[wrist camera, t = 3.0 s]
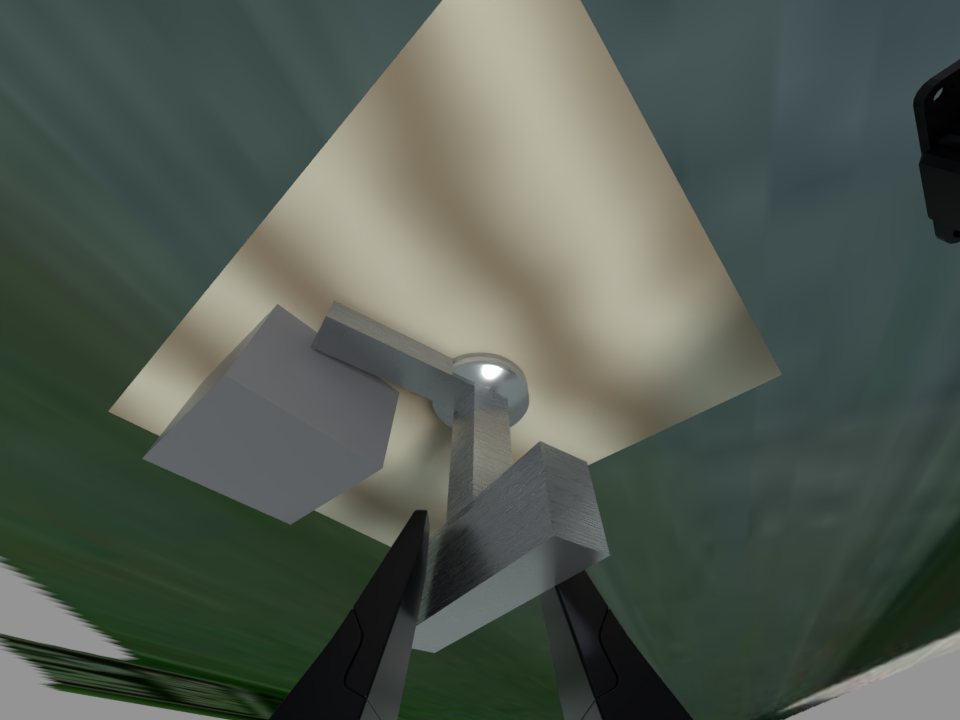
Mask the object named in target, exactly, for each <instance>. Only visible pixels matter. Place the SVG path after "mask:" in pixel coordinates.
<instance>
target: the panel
mask: <svg viewBox="0 0 960 720" xmlns="http://www.w3.org/2000/svg"><path fill="white" fill-rule="evenodd" d="M334 301H336V302H338V303H340V304H342V305H344V306H346V307H348V308H350V309H352V310H354V311H357V312H359V313H361V314H363V315H365V316H367V317H369V318H371V319H373V320H375V321H377V322H379V323H381V324H383V325H385V326H387V327H389V328H391V329H393V330H395V331H397V332H399V333H401V334H403V335H405V336H408V337H410V338H412V339H414V340H416V341H418V342H420V343H422V344H424V345H426V346H428V347H430V348H432V349H434V350H436V351H438V352H440V353H442V354H444V355H446V356H448V357H450V358H452V359H454V358H456V357H458V356H461V355H465V354H469V353H477V352H484V353H492V354H497V355H500V356H503V357H505V358H507V359H509V360H511V361H512V362H514V363H515V364H516V365H518V367H519V368H520V369H521V370H522V371H523V373H524V375H525V377H526V380H527V385H528V392H529V406H528V409H527V411H526V413H525V415H524V416H523V418H522V419H521V420H520V421H519V422H517V423H516V424H515V425H513V426H512V427H510V435H511V449H512V462H513V464H514V463H515V462H516V461H518V460H519V459H520V458H521V457H522V456H523V455H524V454H526V453H527V452H528V451H529V450H530V449H531V448H532V447H533V446H535V445H536V444H537V443H538V442H539V441H541V442H544V443H546V444H548V445H550V446H553V447H555V448H557V449H559V450H561V451H564V452H566V453H568V454H570V455H573V456H575V457H577V458H579V459H582V460H584V461H586V462H587V464H588V465H590V464H592V463H594V462H596V461H598V460H600V459H603V458H605V457H607V456H609V455H611V454H613V453H615V452H618V451H620V450H622V449H624V448H626V447H628V446H630V445H633V444H635V443H637V442H639V441H641V440H643V439H645V438H648V437H650V436H652V435H654V434H656V433H658V432H660V431H663V430H665V429H667V428H669V427H671V426H673V425H675V424H678V423H680V422H682V421H684V420H686V419H688V418H690V417H693V416H695V415H697V414H699V413H701V412H703V411H705V410H708V409H710V408H712V407H714V406H716V405H718V404H720V403H723V402H725V401H727V400H729V399H731V398H733V397H736V396H738V395H740V394H742V393H744V392H746V391H748V390H751V389H753V388H755V387H757V386H759V385H761V384H763V383H766V382H768V381H770V380H772V379H774V378H776V377H778V376H781V375H782V374H781V372H780V370H779V368H778V366H777V364H776V363H775V361H774V359H773V357H772V355H771V353H770V351H769V350H768V348H767V346H766V344H765V342H764V340H763V338H762V337H761V335H760V333H759V331H758V329H757V327H756V325H755V324H754V322H753V320H752V318H751V316H750V314H749V312H748V311H747V309H746V307H745V305H744V303H743V301H742V299H741V298H740V296H739V294H738V292H737V290H736V288H735V286H734V285H733V283H732V281H731V279H730V277H729V275H728V273H727V272H726V270H725V268H724V266H723V264H722V262H721V260H720V259H719V257H718V255H717V253H716V251H715V249H714V247H713V246H712V244H711V242H710V240H709V238H708V236H707V234H706V233H705V231H704V229H703V227H702V225H701V223H700V221H699V220H698V218H697V216H696V214H695V212H694V210H693V208H692V207H691V205H690V203H689V201H688V199H687V197H686V195H685V194H684V192H683V190H682V188H681V186H680V184H679V182H678V181H677V179H676V177H675V175H674V173H673V171H672V169H671V168H670V166H669V164H668V162H667V160H666V158H665V156H664V155H663V153H662V151H661V149H660V147H659V145H658V143H657V142H656V140H655V138H654V136H653V134H652V132H651V130H650V129H649V127H648V125H647V123H646V121H645V119H644V117H643V115H642V114H641V112H640V110H639V108H638V106H637V104H636V102H635V101H634V99H633V97H632V95H631V93H630V91H629V89H628V88H627V86H626V84H625V82H624V80H623V78H622V76H621V75H620V73H619V71H618V69H617V67H616V65H615V63H614V62H613V60H612V58H611V56H610V54H609V52H608V50H607V49H606V47H605V45H604V43H603V41H602V39H601V37H600V36H599V34H598V32H597V30H596V28H595V26H594V24H593V23H592V21H591V19H590V17H589V15H588V13H587V11H586V10H585V8H584V6H583V4H582V2H581V0H442V1H441V3H440V4H439V5H438V6H437V7H436V9H435V10H434V11H433V12H432V14H431V15H430V16H429V17H428V19H427V20H426V21H425V22H424V23H423V25H422V26H421V27H420V28H419V30H418V31H417V32H416V33H415V35H414V36H413V37H412V38H411V39H410V41H409V42H408V43H407V44H406V46H405V47H404V48H403V49H402V51H401V52H400V53H399V54H398V55H397V57H396V58H395V59H394V60H393V62H392V63H391V64H390V65H389V67H388V68H387V69H386V70H385V71H384V73H383V74H382V75H381V76H380V78H379V79H378V80H377V81H376V83H375V84H374V85H373V86H372V87H371V89H370V90H369V91H368V92H367V94H366V95H365V96H364V97H363V99H362V100H361V101H360V102H359V103H358V105H357V106H356V107H355V108H354V110H353V111H352V112H351V113H350V115H349V116H348V117H347V118H346V119H345V121H344V122H343V123H342V124H341V126H340V127H339V128H338V129H337V131H336V132H335V133H334V134H333V135H332V137H331V138H330V139H329V140H328V142H327V143H326V144H325V145H324V147H323V148H322V149H321V150H320V151H319V153H318V154H317V155H316V156H315V158H314V159H313V160H312V161H311V163H310V164H309V165H308V166H307V167H306V169H305V170H304V171H303V172H302V174H301V175H300V176H299V177H298V178H297V180H296V181H295V182H294V183H293V185H292V186H291V187H290V188H289V190H288V191H287V192H286V193H285V194H284V196H283V197H282V198H281V199H280V201H279V202H278V203H277V204H276V206H275V207H274V208H273V209H272V210H271V212H270V213H269V214H268V215H267V217H266V218H265V219H264V220H263V222H262V223H261V224H260V225H259V226H258V228H257V229H256V230H255V231H254V233H253V234H252V235H251V236H250V238H249V239H248V240H247V241H246V242H245V244H244V245H243V246H242V247H241V249H240V250H239V251H238V252H237V254H236V255H235V256H234V257H233V258H232V260H231V261H230V262H229V263H228V265H227V266H226V267H225V268H224V270H223V271H222V272H221V273H220V274H219V276H218V277H217V278H216V279H215V281H214V282H213V283H212V284H211V286H210V287H209V288H208V289H207V290H206V292H205V293H204V294H203V295H202V297H201V298H200V299H199V300H198V302H197V303H196V304H195V305H194V306H193V308H192V309H191V310H190V311H189V313H188V314H187V315H186V316H185V318H184V319H183V320H182V321H181V322H180V324H179V325H178V326H177V327H176V329H175V330H174V331H173V332H172V334H171V335H170V336H169V337H168V338H167V340H166V341H165V342H164V343H163V345H162V346H161V347H160V348H159V350H158V351H157V352H156V353H155V354H154V356H153V357H152V358H151V359H150V361H149V362H148V363H147V364H146V366H145V367H144V368H143V369H142V370H141V372H140V373H139V374H138V375H137V377H136V378H135V379H134V380H133V381H132V383H131V384H130V385H129V386H128V388H127V389H126V390H125V391H124V393H123V394H122V395H121V396H120V397H119V399H118V400H117V401H116V402H115V404H114V405H113V406H112V407H111V409H110V410H109V411H108V412H110V413H112V414H114V415H117V416H119V417H121V418H123V419H125V420H127V421H129V422H131V423H133V424H135V425H137V426H140V427H142V428H144V429H146V430H148V431H150V432H152V433H154V434H156V435H158V436H160V435H161V434H162V433H163V431H164V430H165V429H166V428H167V426H168V425H169V424H170V422H171V421H172V420H173V419H174V417H175V416H176V415H177V414H178V412H179V411H180V410H181V409H182V407H183V406H184V405H185V403H186V402H187V401H188V400H189V398H190V397H191V396H192V395H193V393H194V392H195V391H196V390H197V388H198V387H199V386H200V384H201V383H202V382H203V381H204V380H205V379H206V378H207V377H208V376H209V375H210V374H211V373H212V372H213V371H214V370H215V369H216V367H217V366H218V365H219V364H220V363H221V362H222V361H223V360H224V359H225V358H226V357H227V356H228V355H229V354H230V353H231V352H232V351H233V350H234V349H235V348H236V347H237V346H238V345H239V344H240V342H241V341H242V340H243V339H244V338H245V337H246V336H247V335H248V334H249V333H250V332H251V331H252V330H253V329H254V328H255V327H256V326H257V325H258V324H259V323H260V322H261V321H262V320H263V319H264V317H265V316H266V315H267V314H268V313H269V312H270V311H271V310H272V309H273V308H274V307H275V306H276V305H277V304H279V305H280V306H281V307H283V308H284V309H285V310H287V311H288V312H290V313H291V314H292V315H294V316H295V317H297V318H298V319H299V320H301V321H302V322H303V323H305V324H306V325H308V326H309V327H310V328H312V329H313V330H314V331H316V332H317V333H318V331H319V329H320V327H321V325H322V323H323V321H324V319H325V317H326V315H327V313H328V311H329V309H330V307H331V306H332V304H333V302H334ZM379 378H380V377H379ZM381 379H382V378H381ZM382 380H383V381H385V382H386V383H387V384H389V385H390V386H392V387H393V388H394V389H396V390H397V391H398V392H399V397H398V401H397V406H396V410H395V415H394V419H393V424H392V428H391V433H390V437H389V442H388V446H387V451H386V455H385V460H384V464H383V468H382V469H381V470H379V471H377V472H376V473H374V474H373V475H371V476H369V477H368V478H366V479H364V480H363V481H361V482H359V483H358V484H356V485H355V486H353V487H351V488H350V489H348V490H346V491H345V492H343V493H342V494H340V495H338V496H337V497H335V498H333V499H332V500H330V501H328V502H327V503H325V504H324V505H322V506H320V507H319V508H317V509H315V511H317V512H319V513H321V514H323V515H325V516H327V517H329V518H331V519H334V520H336V521H338V522H340V523H342V524H344V525H346V526H348V527H350V528H352V529H354V530H356V531H359V532H361V533H363V534H365V535H367V536H369V537H371V538H373V539H375V540H377V541H379V542H382V543H384V544H386V545H388V546H390V547H392V545H393V543H394V542H395V540H396V539H397V537H398V536H399V534H400V532H401V531H402V529H403V528H404V526H405V525H406V523H407V522H408V520H409V518H410V517H411V515H412V514H413V512H414V511H415V510H427V511H428V515H429V522H430V534H429V538H430V537H431V536H432V535H433V534H434V533H436V532H437V531H438V530H439V529H440V528H441V527H442V526H444V525H445V524H446V516H447V501H448V487H449V473H450V458H451V444H452V429H453V428H451V427H450V426H448V425H446V424H445V423H444V422H443V421H442V420H441V419H440V418H439V417H438V416H437V414H436V413H435V411H434V408H433V404H432V400H430V399H428V398H425V397H423V396H421V395H418V394H416V393H414V392H412V391H409V390H407V389H405V388H403V387H400V386H398V385H396V384H393V383H391V382H389V381H387V380H384V379H382Z"/></svg>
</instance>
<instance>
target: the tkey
mask: <svg viewBox="0 0 960 720" xmlns="http://www.w3.org/2000/svg"><path fill="white" fill-rule="evenodd" d="M311 347H312V348H314V349H316V350H319V351H321V352H323V353H325V354H328V355H330V356H332V357H334V358H337V359H339V360H341V361H344V362H346V363H348V364H350V365H353V366H355V367H357V368H359V369H362V370H364V371H366V372H369V373H371V374H373V375H375V376H378V377H380V378H382V379H384V380H387V381H389V382H391V383H393V384H396V385H398V386H400V387H403V388H405V389H407V390H409V391H412V392H414V393H416V394H418V395H421V396H423V397H425V398H428V399H430V400H432V404H433V408H434V411H435V413H436V414H437V416H438V417H439V418H440V419H441V420H442V421H443V422H444V423H445V424H446V425H448V426H450V427H451V428H453V429H452V444H451V458H450V473H449V487H448V501H447V516H446V524H445V525H444V526H442V527H441V528H440V529H439V530H438V531H437V532H436V533H434V534H433V535H432V536H431V537H430V538H429V546H428V559H427V571H426V578H425V584H424V589H423V594H422V599H421V604H420V609H419V614H418V619H417V624H416V629H415V634H414V639H413V644H412V649H417V650H422V651H427V652H432V653H435V652H437V651H439V650H441V649H443V648H444V647H446V646H448V645H450V644H452V643H453V642H455V641H457V640H459V639H461V638H462V637H464V636H466V635H468V634H470V633H471V632H473V631H475V630H477V629H479V628H480V627H482V626H484V625H486V624H488V623H489V622H491V621H493V620H495V619H497V618H498V617H500V616H502V615H504V614H506V613H507V612H509V611H511V610H513V609H515V608H516V607H518V606H520V605H522V604H524V603H525V602H527V601H529V600H531V599H533V598H534V597H536V596H538V595H540V594H542V593H543V592H545V591H547V590H549V589H551V588H552V587H554V586H556V585H558V584H560V583H561V582H563V581H565V580H567V579H569V578H570V577H572V576H574V575H576V574H578V573H579V572H581V571H583V570H585V569H587V568H588V567H590V566H592V565H594V564H596V563H597V562H599V561H601V560H603V559H605V558H606V557H608V556H610V553H609V549H608V545H607V541H606V537H605V533H604V529H603V525H602V521H601V517H600V513H599V509H598V505H597V501H596V497H595V493H594V489H593V484H592V480H591V476H590V472H589V468H588V464H587V462H586V461H584V460H582V459H579V458H577V457H575V456H573V455H570V454H568V453H566V452H564V451H561V450H559V449H557V448H555V447H553V446H550V445H548V444H546V443H544V442H541V441H539V442H538V443H537V444H536V445H535V446H533V447H532V448H531V449H530V450H529V451H528V452H527V453H526V454H524V455H523V456H522V457H521V458H520V459H519V460H518V461H516V462H515V463H514V464H513V462H512V449H511V435H510V427H512V426H513V425H515V424H516V423H517V422H519V421H520V420H521V419H522V418H523V416H524V415H525V413H526V411H527V409H528V406H529V392H528V385H527V380H526V377H525V375H524V373H523V371H522V370H521V369H520V368H519V367H518V365H516V364H515V363H514V362H512V361H511V360H509V359H507V358H505V357H503V356H500V355H497V354H492V353H484V352H477V353H469V354H465V355H461V356H458V357H456V358H454V359H452V358H450V357H448V356H446V355H444V354H442V353H440V352H438V351H436V350H434V349H432V348H430V347H428V346H426V345H424V344H422V343H420V342H418V341H416V340H414V339H412V338H410V337H408V336H405V335H403V334H401V333H399V332H397V331H395V330H393V329H391V328H389V327H387V326H385V325H383V324H381V323H379V322H377V321H375V320H373V319H371V318H369V317H367V316H365V315H363V314H361V313H359V312H357V311H354V310H352V309H350V308H348V307H346V306H344V305H342V304H340V303H338V302H336V301H334V302H333V304H332V306H331V307H330V309H329V311H328V313H327V315H326V317H325V319H324V321H323V323H322V325H321V327H320V329H319V331H318V333H317V335H316V337H315V340H314V342H313V344H312V346H311Z"/></svg>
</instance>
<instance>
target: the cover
mask: <svg viewBox="0 0 960 720" xmlns="http://www.w3.org/2000/svg"><path fill="white" fill-rule="evenodd" d="M316 335H317V332H316V331H314V330H313V329H312V328H310V327H309V326H308V325H306V324H305V323H303V322H302V321H301V320H299V319H298V318H297V317H295V316H294V315H292V314H291V313H290V312H288V311H287V310H285V309H284V308H283V307H281V306H280V305H279V304H277V305H276V306H275V307H274V308H273V309H272V310H271V311H270V312H269V313H268V314H267V315H266V316H265V317H264V319H263V320H262V321H261V322H260V323H259V324H258V325H257V326H256V327H255V328H254V329H253V330H252V331H251V332H250V333H249V334H248V335H247V336H246V337H245V338H244V339H243V340H242V341H241V342H240V344H239V345H238V346H237V347H236V348H235V349H234V350H233V351H232V352H231V353H230V354H229V355H228V356H227V357H226V358H225V359H224V360H223V361H222V362H221V363H220V364H219V365H218V366H217V367H216V369H215V370H214V371H213V372H212V373H211V374H210V375H209V376H208V377H207V378H206V379H205V380H204V381H203V382H202V383H201V384H200V386H199V387H198V388H197V390H196V391H195V392H194V393H193V395H192V396H191V397H190V398H189V400H188V401H187V402H186V403H185V405H184V406H183V407H182V409H181V410H180V411H179V412H178V414H177V415H176V416H175V417H174V419H173V420H172V421H171V422H170V424H169V425H168V426H167V428H166V429H165V430H164V431H163V433H162V434H161V435H160V436H159V438H158V439H157V440H156V441H155V443H154V444H153V445H152V447H151V448H150V449H149V450H148V452H147V453H146V454H145V455H144V457H143V458H142V459H144V460H146V461H149V462H151V463H153V464H155V465H158V466H160V467H162V468H164V469H166V470H169V471H171V472H173V473H175V474H178V475H180V476H182V477H184V478H187V479H189V480H191V481H193V482H196V483H198V484H200V485H202V486H205V487H207V488H209V489H211V490H214V491H216V492H218V493H220V494H223V495H225V496H227V497H229V498H232V499H234V500H236V501H238V502H241V503H243V504H245V505H247V506H250V507H252V508H254V509H256V510H259V511H261V512H263V513H265V514H268V515H270V516H272V517H274V518H277V519H279V520H281V521H283V522H286V523H288V524H290V525H291V524H292V523H294V522H296V521H297V520H299V519H301V518H302V517H304V516H306V515H307V514H309V513H310V512H312V511H314V510H315V509H317V508H319V507H320V506H322V505H324V504H325V503H327V502H328V501H330V500H332V499H333V498H335V497H337V496H338V495H340V494H342V493H343V492H345V491H346V490H348V489H350V488H351V487H353V486H355V485H356V484H358V483H359V482H361V481H363V480H364V479H366V478H368V477H369V476H371V475H373V474H374V473H376V472H377V471H379V470H381V469H382V468H383V464H384V460H385V455H386V451H387V446H388V442H389V437H390V433H391V428H392V424H393V419H394V415H395V410H396V406H397V401H398V397H399V392H398V391H397V390H396V389H394V388H393V387H392V386H390V385H389V384H387V383H386V382H385V381H383V380H382V379H381V378H379V377H378V376H375V375H373V374H371V373H369V372H366V371H364V370H362V369H359V368H357V367H355V366H353V365H350V364H348V363H346V362H344V361H341V360H339V359H337V358H334V357H332V356H330V355H328V354H325V353H323V352H321V351H319V350H316V349H314V348H312V347H311V346H312V344H313V342H314V340H315V337H316Z"/></svg>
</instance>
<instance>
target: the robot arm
mask: <svg viewBox="0 0 960 720" xmlns="http://www.w3.org/2000/svg"><path fill="white" fill-rule="evenodd" d="M942 88H943V89H942ZM940 89H942V92H941V94H940V95H939V97H938V98H936V99H935V100H934V97H935V95H936V94H937V92H938V91H939V90H940ZM913 109H914V115H915V121H916V126H917V132H918V138H919V144H920V150H921V158H920V161H919V170H920V175H921V181H922V186H923V192H924V198H925V203H926V209H927V214H928V217H929V219H931V220H933V225H934V231H935V236H936V237H937V238H938V239H940V240H942V241H944V242H947V243H950V244H954V243H958V242H960V59H959V60H958V61H956V62H955V63H953V64H952V65H950V66H949V67H947V68H946V69H944V70H942V71H941V72H939V73H938V74H936V75H935V76H933V77H932V78H930V79H929V80H928V81H927V82H925V83H924V84H923V85H922V86H921V88H920V89H919V90H918V91H917V93H916V95H915V97H914V100H913ZM429 534H430V522H429V515H428V511H427V510H415V511H414V512H413V514H412V515H411V517H410V518H409V520H408V522H407V523H406V525H405V526H404V528H403V529H402V531H401V532H400V534H399V536H398V537H397V539H396V540H395V542H394V543H393V545H392V547H391V548H390V550H389V551H388V553H387V554H386V556H385V557H384V559H383V561H382V562H381V564H380V565H379V567H378V568H377V570H376V571H375V573H374V575H373V576H372V578H371V579H370V581H369V582H368V584H367V585H366V587H365V589H364V590H363V592H362V593H361V595H360V596H359V598H358V600H357V601H356V603H355V604H354V606H353V609H351V610H350V611H349V613H348V615H347V616H346V618H345V619H344V621H343V622H342V624H341V625H340V627H339V628H338V630H337V631H336V633H335V634H334V636H333V637H332V638H331V640H330V641H329V642H328V644H327V645H326V646H325V648H324V649H323V650H322V652H321V653H320V654H319V656H318V657H317V658H316V660H315V661H314V662H313V663H312V665H311V666H310V667H309V668H308V670H307V671H306V672H305V674H304V675H303V676H302V677H301V679H300V680H299V681H298V682H297V684H296V685H295V686H294V688H293V689H292V690H291V691H290V693H289V694H288V695H287V696H286V698H285V699H284V700H283V702H282V703H281V704H280V705H279V707H278V708H277V709H276V710H275V712H274V713H273V714H272V716H271V717H270V718H269V719H268V720H397V719H398V714H399V709H400V704H401V699H402V694H403V689H404V684H405V679H406V674H407V669H408V664H409V659H410V654H411V649H412V644H413V639H414V634H415V629H416V624H417V619H418V614H419V609H420V604H421V599H422V594H423V589H424V584H425V578H426V571H427V559H428V546H429ZM539 597H540V602H541V607H542V612H543V617H544V622H545V627H546V632H547V637H548V642H549V647H550V652H551V657H552V662H553V666H554V671H555V676H556V681H557V686H558V691H559V696H560V701H561V706H562V711H563V716H564V720H694V719H693V718H692V717H691V715H690V714H689V713H688V711H687V710H686V709H685V708H684V706H683V705H682V704H681V703H680V701H679V700H678V699H677V698H676V696H675V695H674V694H673V693H672V691H671V690H670V689H669V687H668V686H667V685H666V684H665V682H664V681H663V680H662V679H661V677H660V676H659V675H658V674H657V672H656V671H655V670H654V669H653V667H652V666H651V665H650V663H649V662H648V661H647V660H646V658H645V657H644V656H643V655H642V653H641V652H640V651H639V649H638V648H637V647H636V645H635V644H634V643H633V641H632V640H631V639H630V637H629V636H628V634H627V633H626V631H625V630H624V628H623V627H622V626H621V624H620V623H619V621H618V620H617V618H616V617H615V615H614V613H613V612H612V610H611V609H608V608H609V606H608V605H607V603H606V602H605V600H604V598H603V597H602V595H601V594H600V592H599V591H598V589H597V588H596V586H595V585H594V583H593V581H592V580H591V578H590V577H589V575H588V574H587V572H586V571H585V570H583V571H581V572H579V573H578V574H576V575H574V576H572V577H570V578H569V579H567V580H565V581H563V582H561V583H560V584H558V585H556V586H554V587H552V588H551V589H549V590H547V591H545V592H543V593H542V594H540V595H539Z"/></svg>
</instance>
